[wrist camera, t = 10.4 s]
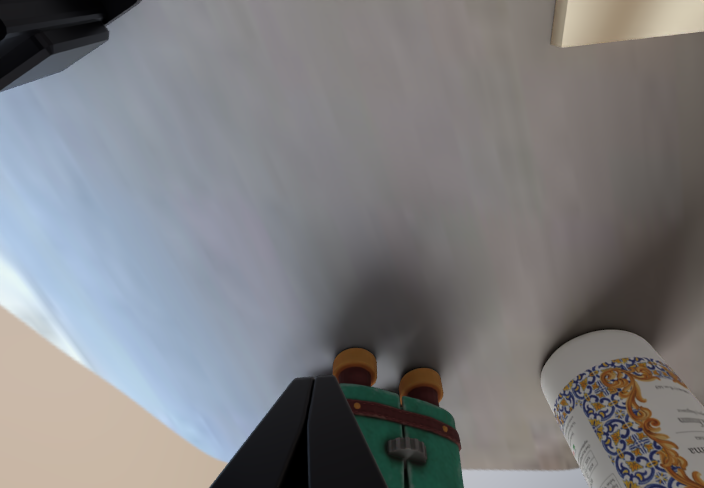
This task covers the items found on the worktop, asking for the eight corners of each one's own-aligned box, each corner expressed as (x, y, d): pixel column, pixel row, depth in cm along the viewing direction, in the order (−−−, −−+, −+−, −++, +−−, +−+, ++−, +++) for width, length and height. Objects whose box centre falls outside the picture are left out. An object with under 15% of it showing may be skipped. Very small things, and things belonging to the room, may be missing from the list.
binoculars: (254, 603, 22) (325, 536, 17) (284, 414, 31) (337, 327, 25) (409, 625, 24) (519, 571, 19) (397, 442, 33) (469, 367, 27)
